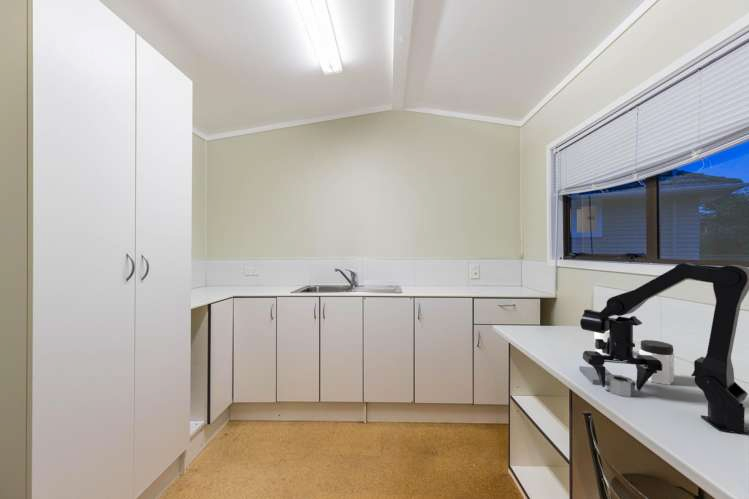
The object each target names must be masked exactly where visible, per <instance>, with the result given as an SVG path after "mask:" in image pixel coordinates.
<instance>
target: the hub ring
mask: <svg viewBox="0 0 749 499" xmlns="http://www.w3.org/2000/svg"><path fill="white" fill-rule="evenodd" d="M635 382H636V381H635V380H633V379H632V378H631V377H628V376H624V375H620V374H613V375H612V373H611V375H608V376H607V386H606V389H607V391H608V392H610V393H611V394H614V395H616V396H619V397H628V398H631V397H634V396H636V393H635V392H636V390H635V389H636V388H635V386H636V383H635Z"/></svg>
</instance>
